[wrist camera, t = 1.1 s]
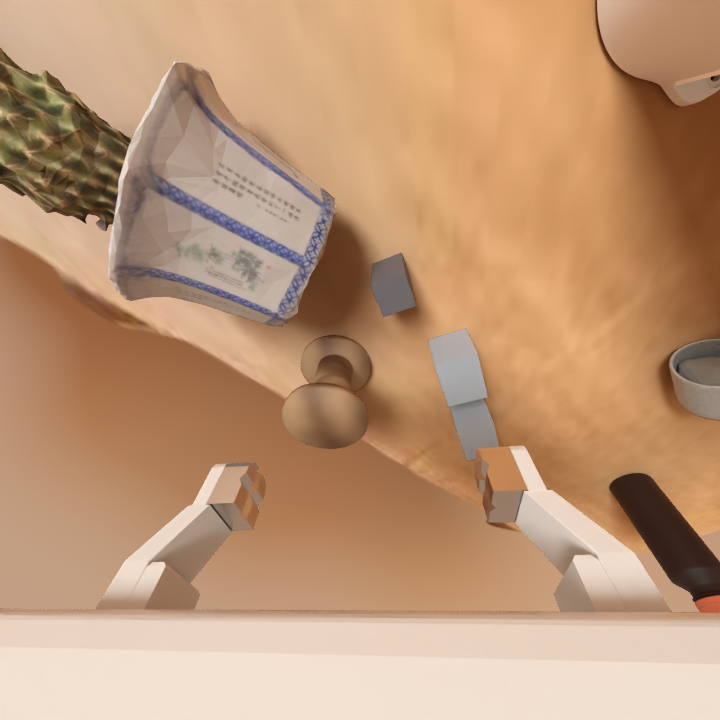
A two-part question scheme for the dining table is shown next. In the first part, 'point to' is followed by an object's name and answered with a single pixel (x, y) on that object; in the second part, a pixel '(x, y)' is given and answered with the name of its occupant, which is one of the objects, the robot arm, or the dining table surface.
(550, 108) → the dining table surface
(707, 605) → the bottle
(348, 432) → the wooden door knob
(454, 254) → the dining table surface
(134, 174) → the potted plant
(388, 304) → the dark gray rectangular block
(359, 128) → the dining table surface
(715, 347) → the ceramic mug
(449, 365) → the gray stepped block
